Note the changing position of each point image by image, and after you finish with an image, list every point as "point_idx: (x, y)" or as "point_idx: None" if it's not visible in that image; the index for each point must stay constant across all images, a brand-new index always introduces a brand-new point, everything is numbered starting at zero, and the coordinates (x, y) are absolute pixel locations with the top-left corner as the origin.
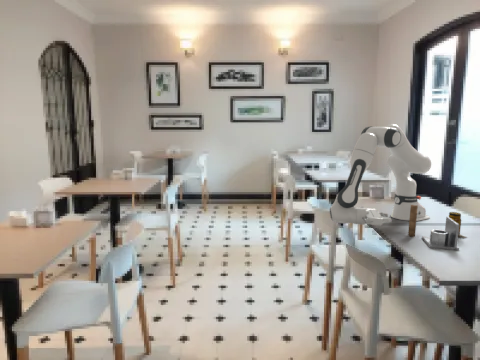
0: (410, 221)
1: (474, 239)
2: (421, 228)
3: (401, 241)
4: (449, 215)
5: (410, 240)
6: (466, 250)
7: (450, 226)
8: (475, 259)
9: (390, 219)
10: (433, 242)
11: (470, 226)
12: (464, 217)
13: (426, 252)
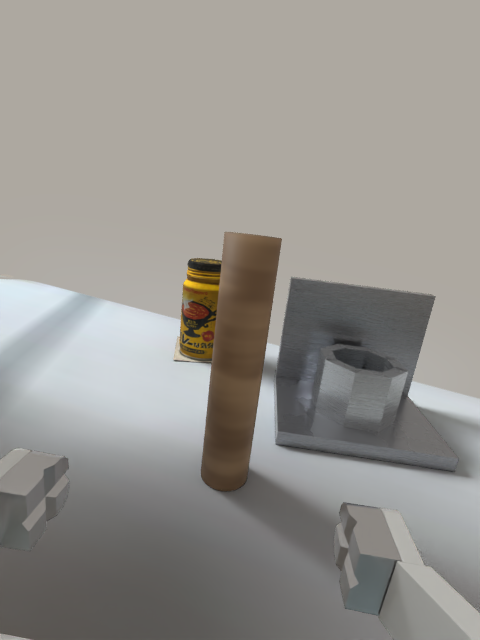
0: (249, 382)
1: None
2: (80, 385)
3: None
4: (207, 275)
5: None
6: None
7: (352, 316)
8: (477, 398)
9: (398, 529)
10: (382, 428)
11: (107, 305)
12: (15, 286)
13: None
